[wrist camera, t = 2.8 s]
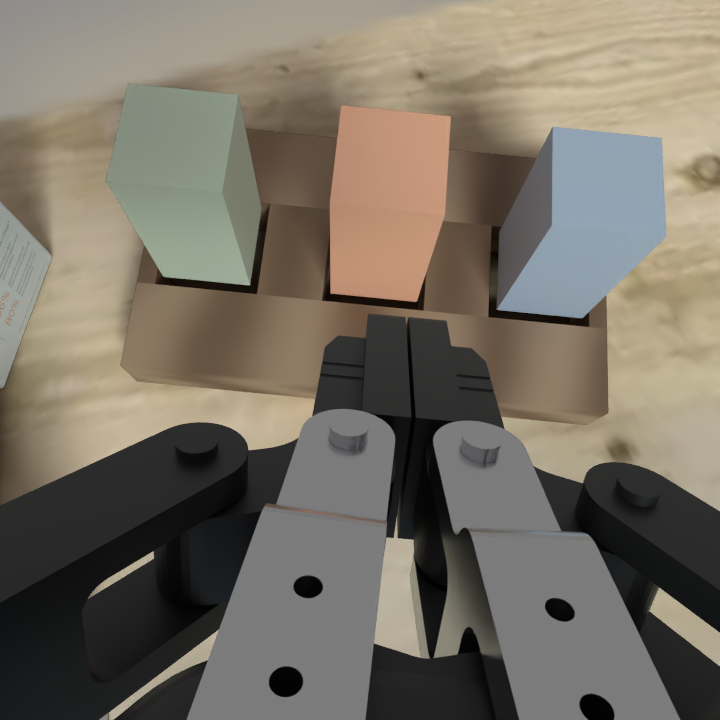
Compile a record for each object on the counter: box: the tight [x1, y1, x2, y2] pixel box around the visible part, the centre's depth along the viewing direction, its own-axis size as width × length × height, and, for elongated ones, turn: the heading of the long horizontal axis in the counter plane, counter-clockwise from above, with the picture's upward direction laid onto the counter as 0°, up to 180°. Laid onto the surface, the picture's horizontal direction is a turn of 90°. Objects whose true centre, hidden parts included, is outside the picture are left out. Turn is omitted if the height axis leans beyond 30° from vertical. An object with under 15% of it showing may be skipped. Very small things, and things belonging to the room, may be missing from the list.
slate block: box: [497, 127, 666, 318], centre depth 31 cm, size 4×4×9 cm
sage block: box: [106, 83, 262, 285], centre depth 30 cm, size 4×4×9 cm
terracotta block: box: [330, 105, 451, 302], centre depth 30 cm, size 4×4×9 cm
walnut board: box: [120, 129, 608, 425], centre depth 36 cm, size 24×14×3 cm, turn 85°
